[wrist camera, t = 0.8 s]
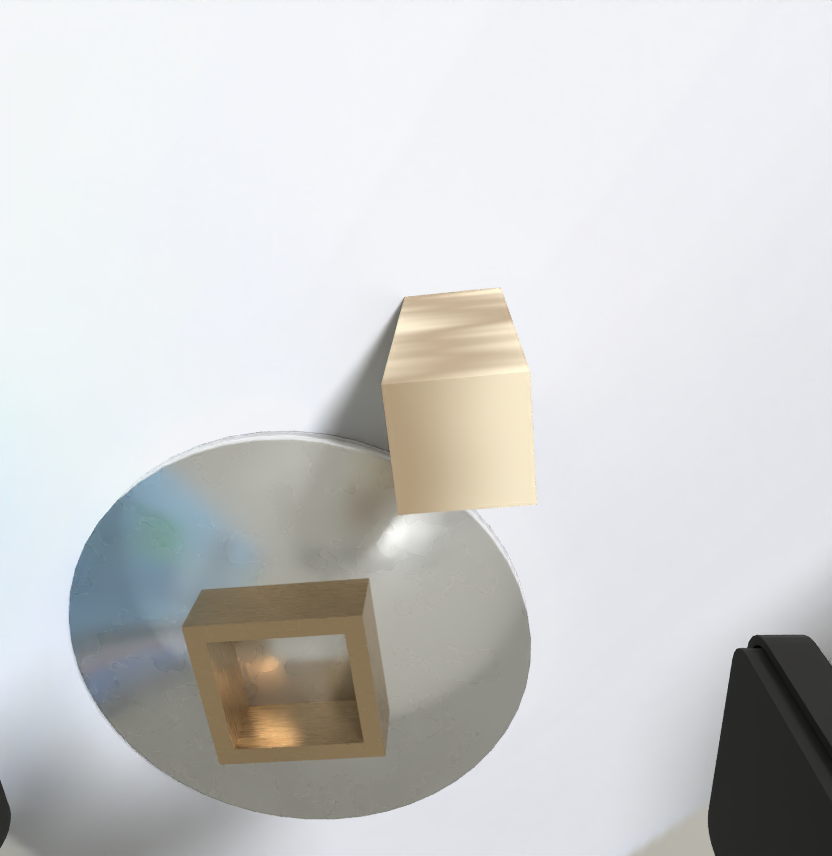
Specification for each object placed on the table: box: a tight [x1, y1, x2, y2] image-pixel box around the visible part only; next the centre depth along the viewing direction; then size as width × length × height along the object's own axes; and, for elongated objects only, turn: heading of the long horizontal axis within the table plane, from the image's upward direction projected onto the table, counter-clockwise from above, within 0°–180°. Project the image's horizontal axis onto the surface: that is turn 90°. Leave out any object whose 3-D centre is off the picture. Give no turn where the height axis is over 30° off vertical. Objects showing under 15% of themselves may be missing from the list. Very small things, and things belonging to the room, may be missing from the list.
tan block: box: [381, 288, 537, 515], centre depth 22 cm, size 4×4×10 cm
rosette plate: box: [69, 431, 531, 819], centre depth 31 cm, size 20×20×4 cm
